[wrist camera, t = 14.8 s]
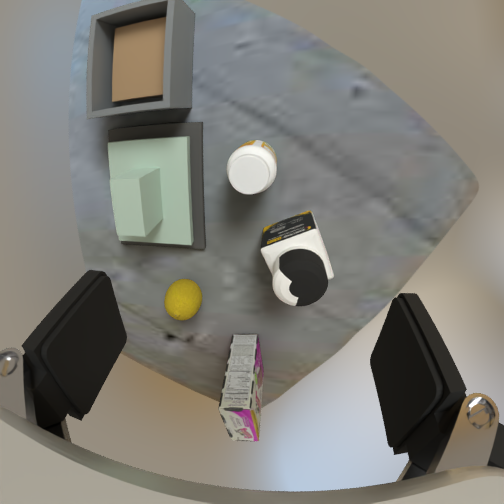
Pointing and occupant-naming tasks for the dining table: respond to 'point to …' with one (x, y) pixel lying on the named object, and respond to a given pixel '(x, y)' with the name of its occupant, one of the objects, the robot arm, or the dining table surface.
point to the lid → (152, 190)
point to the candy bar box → (243, 388)
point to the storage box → (140, 58)
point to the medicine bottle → (297, 259)
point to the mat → (195, 167)
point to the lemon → (183, 299)
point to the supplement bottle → (252, 167)
